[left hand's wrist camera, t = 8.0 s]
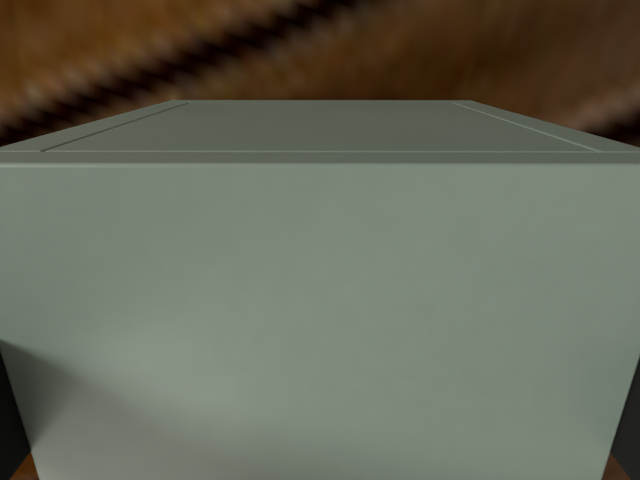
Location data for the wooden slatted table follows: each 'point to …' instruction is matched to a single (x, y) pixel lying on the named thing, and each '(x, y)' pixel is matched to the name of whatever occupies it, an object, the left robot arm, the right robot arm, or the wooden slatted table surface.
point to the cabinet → (320, 293)
